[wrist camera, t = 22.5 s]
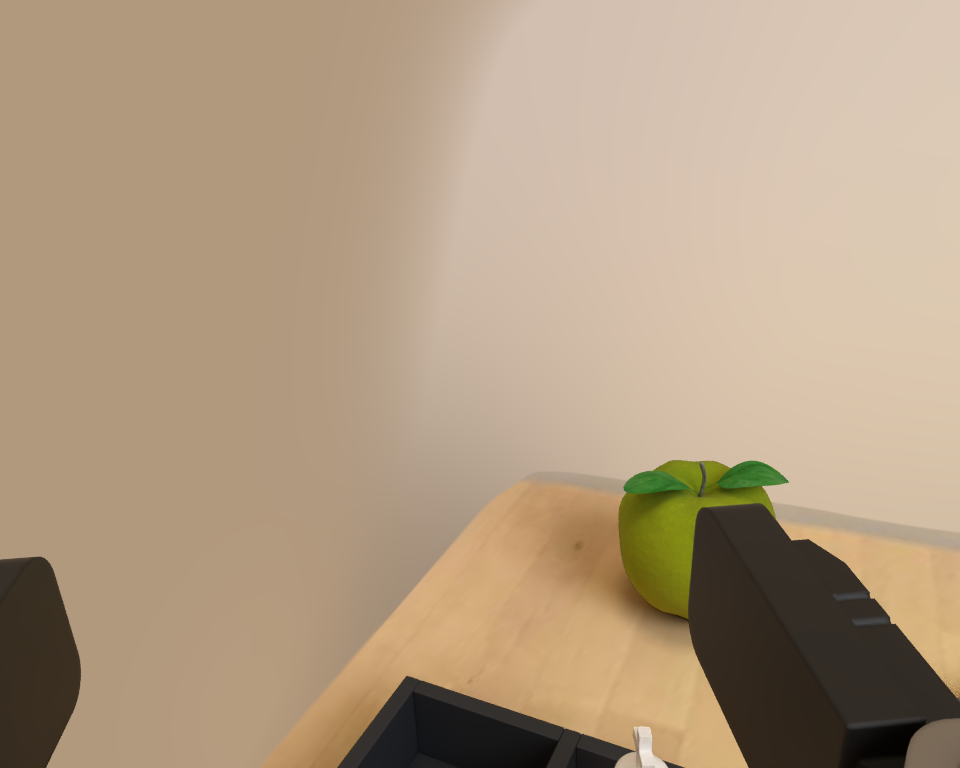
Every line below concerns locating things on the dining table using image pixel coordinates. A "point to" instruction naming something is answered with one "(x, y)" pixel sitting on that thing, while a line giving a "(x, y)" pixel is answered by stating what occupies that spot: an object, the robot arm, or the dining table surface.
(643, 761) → the chess piece
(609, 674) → the dining table surface
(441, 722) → the caddy
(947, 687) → the robot arm
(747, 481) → the fruit
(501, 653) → the dining table surface
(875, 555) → the dining table surface
